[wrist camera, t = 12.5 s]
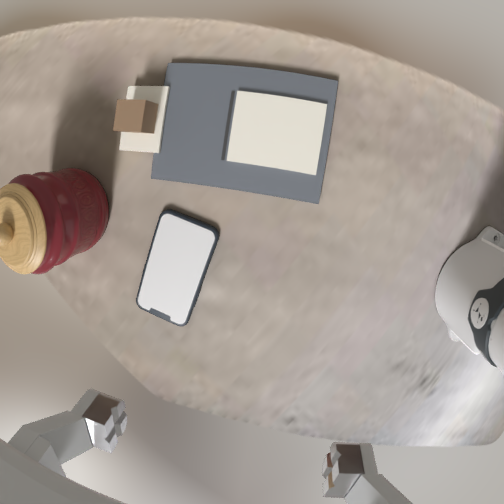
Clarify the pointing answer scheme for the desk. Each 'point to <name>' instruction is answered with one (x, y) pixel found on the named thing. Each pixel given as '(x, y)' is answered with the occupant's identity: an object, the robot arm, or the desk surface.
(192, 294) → the smartphone
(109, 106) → the desk surface
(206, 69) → the board
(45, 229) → the canister
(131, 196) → the desk surface
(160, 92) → the tan cube with base
